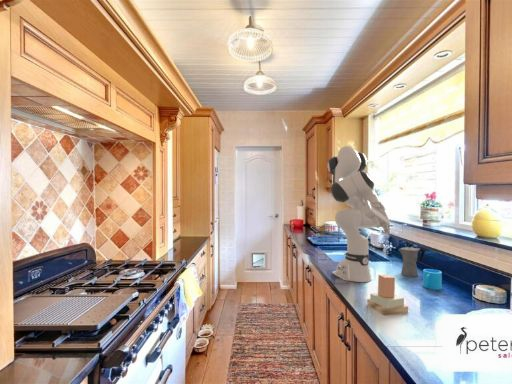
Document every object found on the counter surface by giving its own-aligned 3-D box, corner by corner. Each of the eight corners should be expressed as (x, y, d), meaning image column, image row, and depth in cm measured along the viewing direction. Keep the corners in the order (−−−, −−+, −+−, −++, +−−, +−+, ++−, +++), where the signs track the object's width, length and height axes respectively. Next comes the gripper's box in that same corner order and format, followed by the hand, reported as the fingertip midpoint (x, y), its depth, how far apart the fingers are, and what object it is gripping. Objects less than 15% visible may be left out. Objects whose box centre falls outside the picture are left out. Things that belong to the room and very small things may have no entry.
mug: (426, 283, 158) (426, 268, 158) (444, 287, 151) (444, 271, 151) (417, 288, 150) (417, 271, 150) (435, 292, 144) (435, 275, 144)
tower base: (367, 306, 127) (367, 299, 127) (389, 304, 130) (389, 297, 130) (384, 316, 116) (384, 309, 116) (408, 314, 119) (408, 306, 119)
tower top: (370, 300, 125) (370, 293, 125) (385, 298, 128) (385, 291, 128) (387, 308, 117) (387, 301, 117) (403, 305, 120) (403, 298, 120)
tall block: (378, 293, 124) (378, 274, 124) (387, 293, 125) (388, 274, 125) (384, 297, 120) (384, 277, 120) (394, 297, 120) (394, 277, 121)
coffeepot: (402, 276, 170) (402, 245, 170) (394, 272, 179) (394, 242, 179) (429, 276, 170) (429, 245, 170) (420, 272, 179) (420, 242, 179)
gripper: (366, 193, 130) (379, 219, 122) (385, 208, 143) (398, 232, 135) (354, 200, 133) (366, 226, 125) (373, 214, 146) (385, 239, 138)
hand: (383, 229), depth 130 cm, fingers open, 8 cm apart
